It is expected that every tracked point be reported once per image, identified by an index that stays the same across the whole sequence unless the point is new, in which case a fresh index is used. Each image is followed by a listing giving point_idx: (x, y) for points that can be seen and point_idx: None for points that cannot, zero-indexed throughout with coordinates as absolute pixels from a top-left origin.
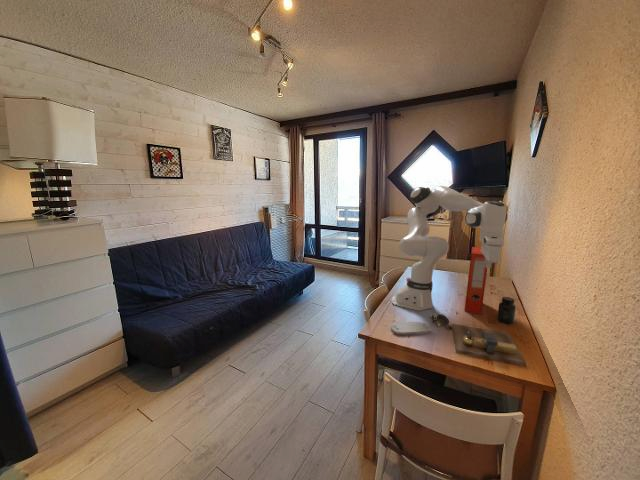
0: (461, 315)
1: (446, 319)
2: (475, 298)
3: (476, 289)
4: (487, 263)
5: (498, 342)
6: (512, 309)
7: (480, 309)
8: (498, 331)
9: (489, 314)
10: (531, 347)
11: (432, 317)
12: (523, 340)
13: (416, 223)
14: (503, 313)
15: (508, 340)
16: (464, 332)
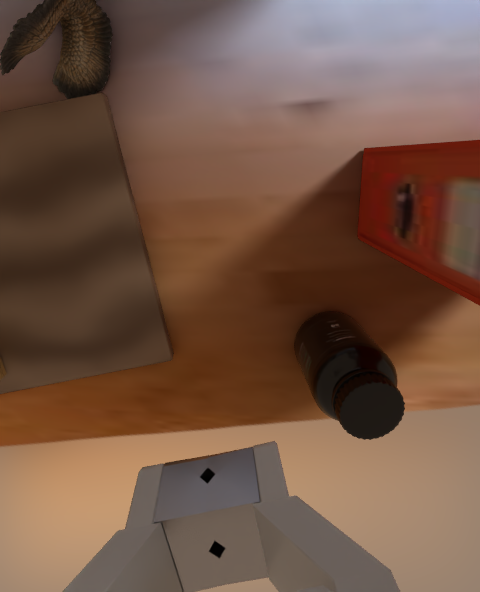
0: (290, 137)
1: (12, 48)
2: (399, 211)
3: (436, 220)
4: (98, 571)
5: None
6: (317, 404)
7: (368, 237)
8: (158, 320)
9: (377, 276)
10: (123, 421)
11: None
12: (167, 400)
13: None
14: (308, 353)
15: (92, 356)
16: (36, 171)
